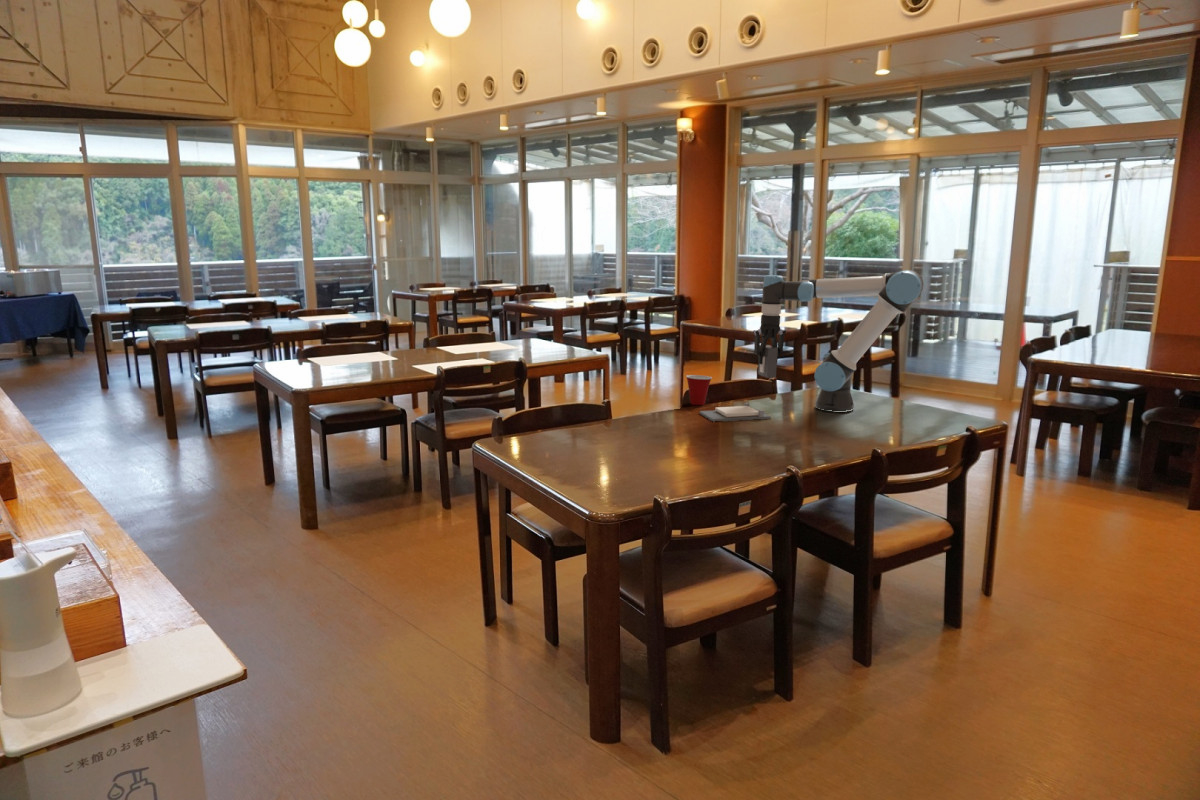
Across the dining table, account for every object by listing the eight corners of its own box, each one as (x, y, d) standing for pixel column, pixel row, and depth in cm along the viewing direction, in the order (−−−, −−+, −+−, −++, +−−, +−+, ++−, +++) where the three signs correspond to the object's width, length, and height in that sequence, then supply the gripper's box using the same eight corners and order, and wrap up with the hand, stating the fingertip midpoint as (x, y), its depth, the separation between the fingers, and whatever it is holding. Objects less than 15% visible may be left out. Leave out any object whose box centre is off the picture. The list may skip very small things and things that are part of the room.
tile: (747, 405, 314) (715, 407, 310) (760, 412, 303) (726, 413, 300) (747, 409, 314) (715, 411, 311) (759, 415, 304) (726, 417, 300)
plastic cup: (715, 403, 330) (716, 375, 327) (704, 407, 321) (705, 379, 319) (691, 399, 336) (692, 372, 333) (680, 404, 327) (681, 376, 324)
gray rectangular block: (766, 373, 323) (768, 345, 320) (775, 377, 315) (777, 347, 312) (758, 374, 322) (759, 345, 319) (766, 377, 314) (768, 348, 311)
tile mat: (754, 410, 317) (755, 402, 316) (770, 419, 303) (771, 410, 303) (699, 413, 311) (699, 404, 310) (713, 422, 297) (713, 413, 297)
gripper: (785, 313, 318) (782, 369, 323) (747, 313, 314) (743, 371, 319) (794, 315, 311) (790, 373, 316) (755, 315, 307) (751, 374, 312)
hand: (767, 371), depth 318 cm, fingers closed on gray rectangular block, 4 cm apart
